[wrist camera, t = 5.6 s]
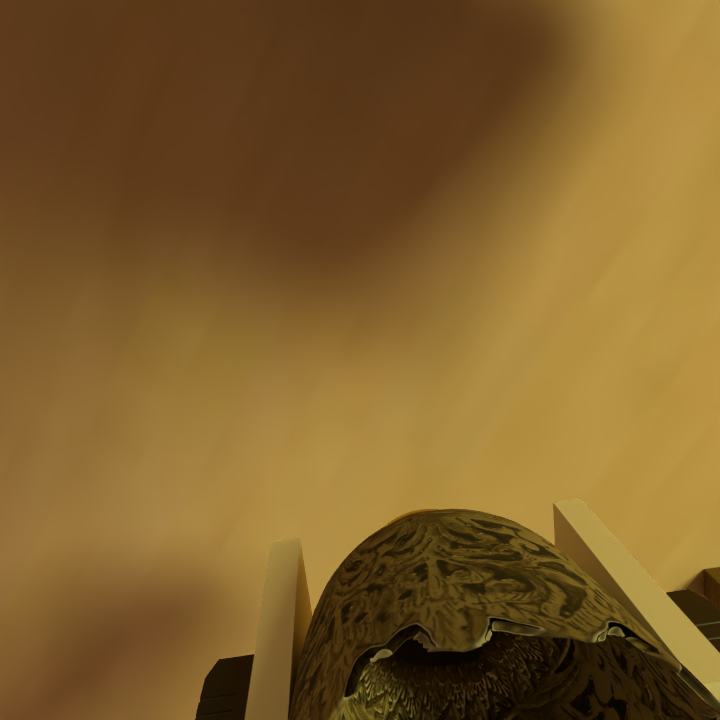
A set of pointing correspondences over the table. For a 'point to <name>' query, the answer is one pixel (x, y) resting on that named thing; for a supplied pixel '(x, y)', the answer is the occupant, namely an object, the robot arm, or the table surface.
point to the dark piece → (481, 634)
